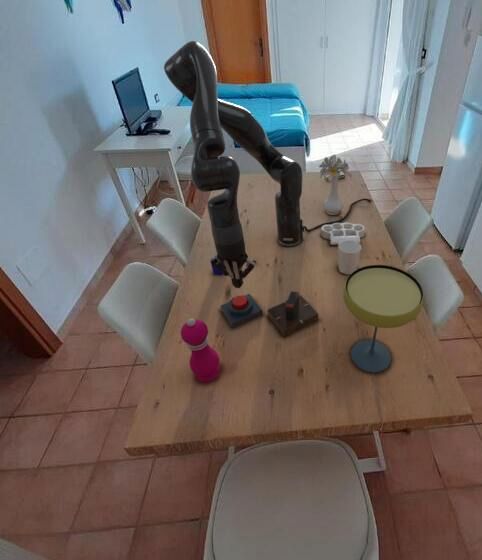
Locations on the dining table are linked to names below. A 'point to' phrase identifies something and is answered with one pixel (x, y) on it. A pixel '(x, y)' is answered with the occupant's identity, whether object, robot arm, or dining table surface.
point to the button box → (241, 312)
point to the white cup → (348, 256)
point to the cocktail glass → (380, 308)
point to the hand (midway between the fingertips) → (238, 286)
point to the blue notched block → (216, 270)
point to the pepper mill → (200, 350)
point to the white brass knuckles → (342, 232)
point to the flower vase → (333, 183)
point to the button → (239, 302)
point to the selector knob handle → (292, 305)
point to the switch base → (301, 320)
